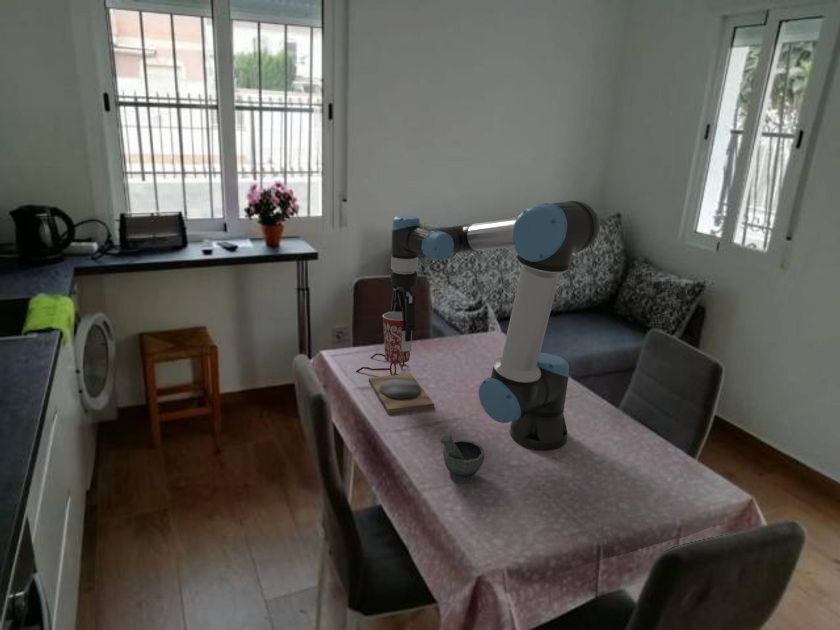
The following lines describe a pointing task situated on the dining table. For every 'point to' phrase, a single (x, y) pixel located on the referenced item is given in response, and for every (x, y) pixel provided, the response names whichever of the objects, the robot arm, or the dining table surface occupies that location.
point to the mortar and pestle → (462, 458)
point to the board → (400, 393)
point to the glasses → (382, 368)
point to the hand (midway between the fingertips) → (401, 344)
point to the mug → (394, 338)
